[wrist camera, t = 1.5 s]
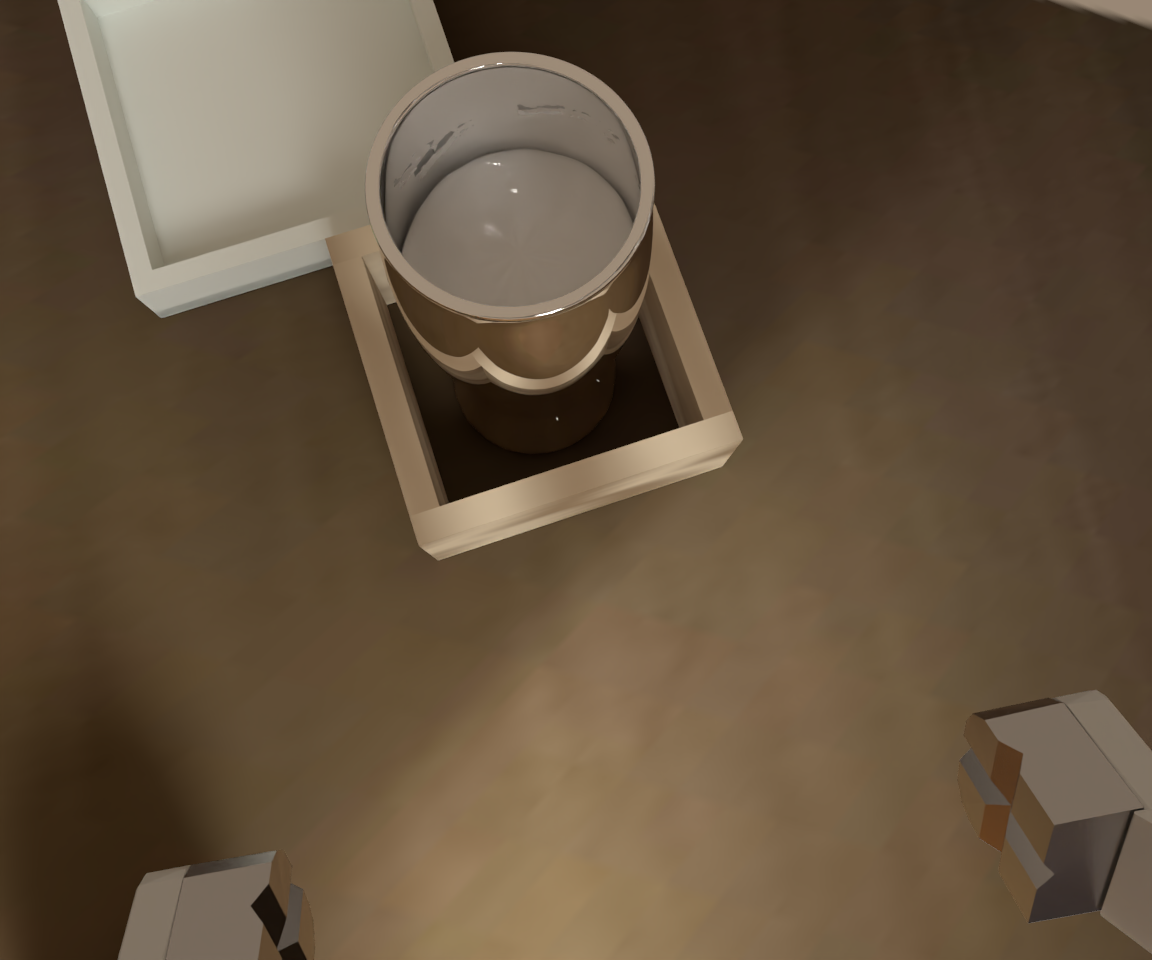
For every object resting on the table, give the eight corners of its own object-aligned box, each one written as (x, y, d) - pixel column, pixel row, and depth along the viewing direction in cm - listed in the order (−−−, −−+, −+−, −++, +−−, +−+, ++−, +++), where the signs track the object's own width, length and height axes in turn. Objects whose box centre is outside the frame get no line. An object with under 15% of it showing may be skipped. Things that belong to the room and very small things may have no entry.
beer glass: (411, 420, 36) (299, 251, 21) (491, 261, 37) (439, -3, 22) (580, 497, 35) (586, 379, 21) (656, 333, 37) (713, 111, 22)
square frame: (625, 205, 38) (632, 144, 33) (722, 466, 36) (743, 439, 31) (354, 289, 37) (324, 238, 32) (438, 560, 35) (418, 545, 30)
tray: (402, -76, 40) (392, -119, 38) (501, 213, 37) (497, 186, 35) (80, 16, 39) (51, -22, 37) (161, 318, 37) (135, 296, 34)
